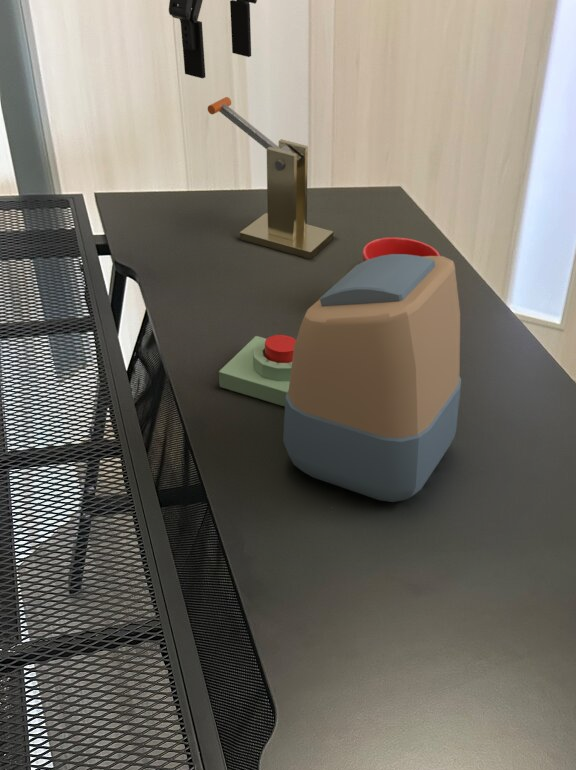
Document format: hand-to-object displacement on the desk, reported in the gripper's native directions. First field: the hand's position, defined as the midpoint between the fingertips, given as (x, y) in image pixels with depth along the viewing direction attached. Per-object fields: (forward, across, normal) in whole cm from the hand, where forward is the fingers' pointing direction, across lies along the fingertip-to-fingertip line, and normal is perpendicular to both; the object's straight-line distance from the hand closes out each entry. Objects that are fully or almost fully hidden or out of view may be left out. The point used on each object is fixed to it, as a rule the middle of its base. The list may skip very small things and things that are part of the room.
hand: (219, 65), depth 122 cm
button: (+19, -38, -28) cm, 51 cm away
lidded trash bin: (+22, -48, -44) cm, 69 cm away
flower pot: (+23, -15, -34) cm, 44 cm away
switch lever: (+9, 0, -5) cm, 10 cm away
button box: (+22, -38, -28) cm, 52 cm away
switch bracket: (+22, 0, -10) cm, 25 cm away
